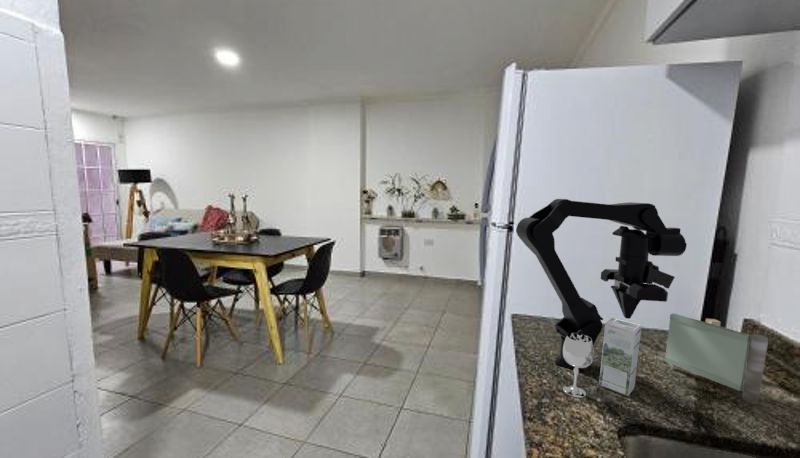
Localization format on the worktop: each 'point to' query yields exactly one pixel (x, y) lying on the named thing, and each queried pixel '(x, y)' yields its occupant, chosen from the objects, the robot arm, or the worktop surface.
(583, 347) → the wineglass
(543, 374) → the worktop surface
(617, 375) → the syrup box
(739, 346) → the pale green flat block
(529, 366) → the worktop surface
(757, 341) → the frame
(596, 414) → the worktop surface
